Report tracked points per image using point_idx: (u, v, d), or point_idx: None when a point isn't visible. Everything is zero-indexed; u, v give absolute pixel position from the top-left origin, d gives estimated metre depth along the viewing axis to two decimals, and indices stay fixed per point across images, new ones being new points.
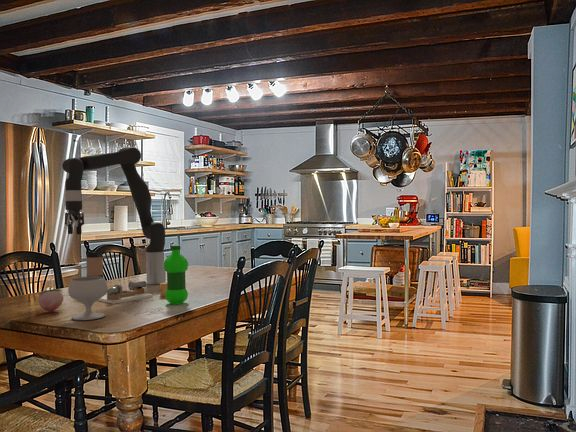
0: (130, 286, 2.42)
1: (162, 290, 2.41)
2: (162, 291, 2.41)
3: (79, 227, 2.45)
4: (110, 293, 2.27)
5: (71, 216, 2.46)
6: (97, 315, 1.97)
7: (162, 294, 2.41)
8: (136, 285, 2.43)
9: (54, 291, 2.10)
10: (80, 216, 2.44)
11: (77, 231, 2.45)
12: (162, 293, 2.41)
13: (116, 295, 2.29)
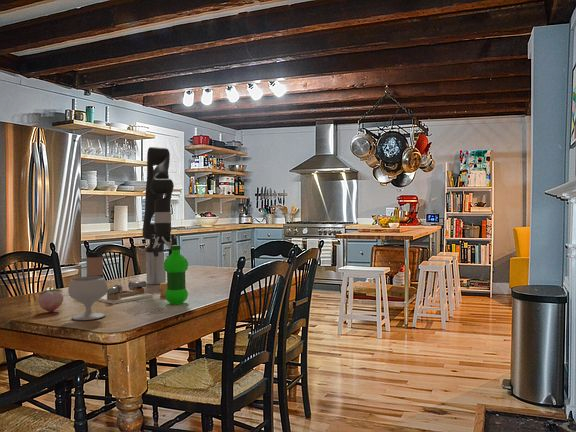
0: (130, 286, 2.42)
1: (162, 290, 2.41)
2: (162, 291, 2.41)
3: None
4: (110, 293, 2.27)
5: None
6: (97, 315, 1.97)
7: (162, 294, 2.41)
8: (136, 285, 2.43)
9: (54, 291, 2.10)
10: None
11: None
12: (162, 293, 2.41)
13: (116, 295, 2.29)
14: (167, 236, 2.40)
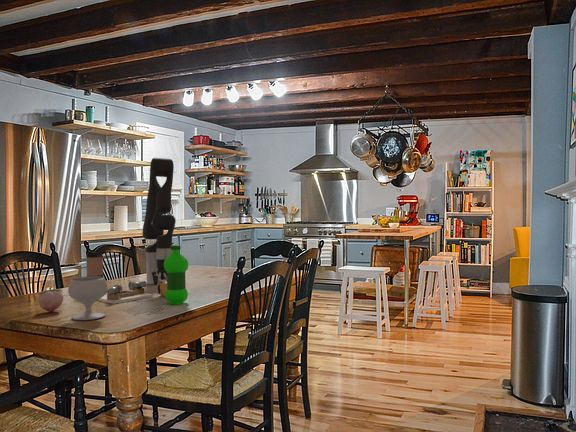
0: (130, 286, 2.42)
1: (162, 290, 2.41)
2: (162, 291, 2.41)
3: None
4: (110, 293, 2.27)
5: None
6: (97, 315, 1.97)
7: (162, 294, 2.41)
8: (136, 285, 2.43)
9: (54, 291, 2.10)
10: None
11: None
12: (162, 293, 2.41)
13: (116, 295, 2.29)
14: None
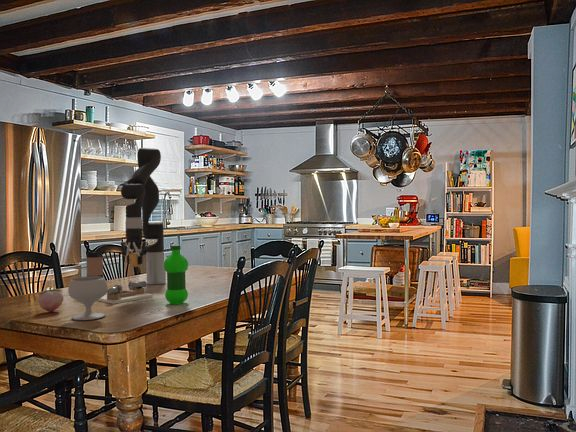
0: (130, 286, 2.42)
1: (131, 260, 2.38)
2: (131, 261, 2.38)
3: None
4: (110, 293, 2.27)
5: None
6: (97, 315, 1.97)
7: (131, 264, 2.38)
8: (136, 285, 2.43)
9: (54, 291, 2.10)
10: None
11: None
12: (131, 263, 2.38)
13: (116, 295, 2.29)
14: (139, 243, 2.37)
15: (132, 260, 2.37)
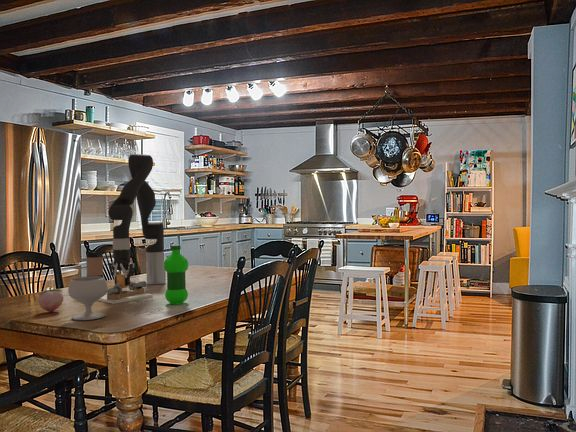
0: (130, 286, 2.42)
1: (118, 281, 2.37)
2: (118, 282, 2.37)
3: None
4: (110, 293, 2.27)
5: None
6: (97, 315, 1.97)
7: None
8: (136, 285, 2.43)
9: (54, 291, 2.10)
10: None
11: None
12: (118, 284, 2.37)
13: (116, 295, 2.29)
14: (126, 264, 2.37)
15: (119, 281, 2.37)
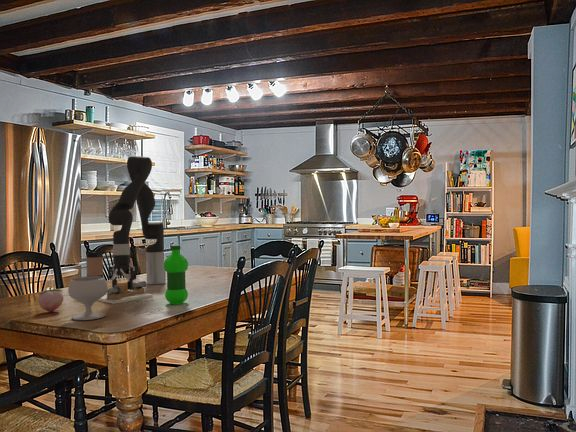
0: None
1: None
2: None
3: None
4: (110, 293, 2.27)
5: None
6: (97, 315, 1.97)
7: None
8: (136, 285, 2.43)
9: (54, 291, 2.10)
10: None
11: None
12: None
13: (116, 295, 2.29)
14: (126, 268, 2.37)
15: None
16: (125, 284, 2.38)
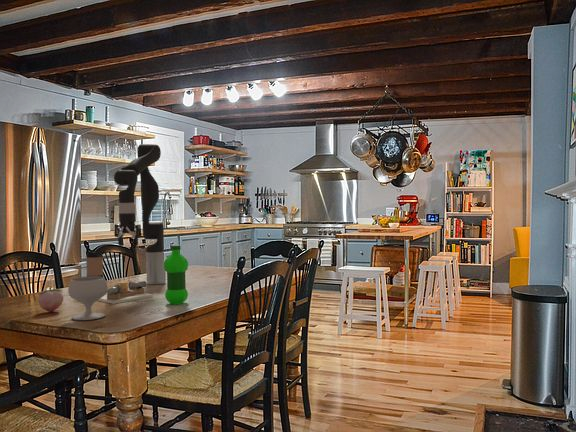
0: (130, 286, 2.42)
1: None
2: None
3: None
4: (110, 293, 2.27)
5: None
6: (97, 315, 1.97)
7: None
8: (136, 285, 2.43)
9: (54, 291, 2.10)
10: None
11: None
12: None
13: (116, 295, 2.29)
14: (131, 226, 2.46)
15: None
16: (125, 284, 2.38)
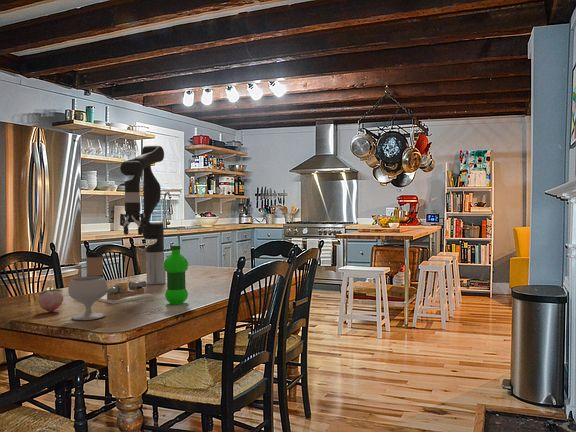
0: (130, 286, 2.42)
1: None
2: None
3: None
4: (110, 293, 2.27)
5: None
6: (97, 315, 1.97)
7: None
8: (136, 285, 2.43)
9: (54, 291, 2.10)
10: None
11: None
12: None
13: (116, 295, 2.29)
14: (136, 215, 2.55)
15: None
16: (125, 284, 2.38)
